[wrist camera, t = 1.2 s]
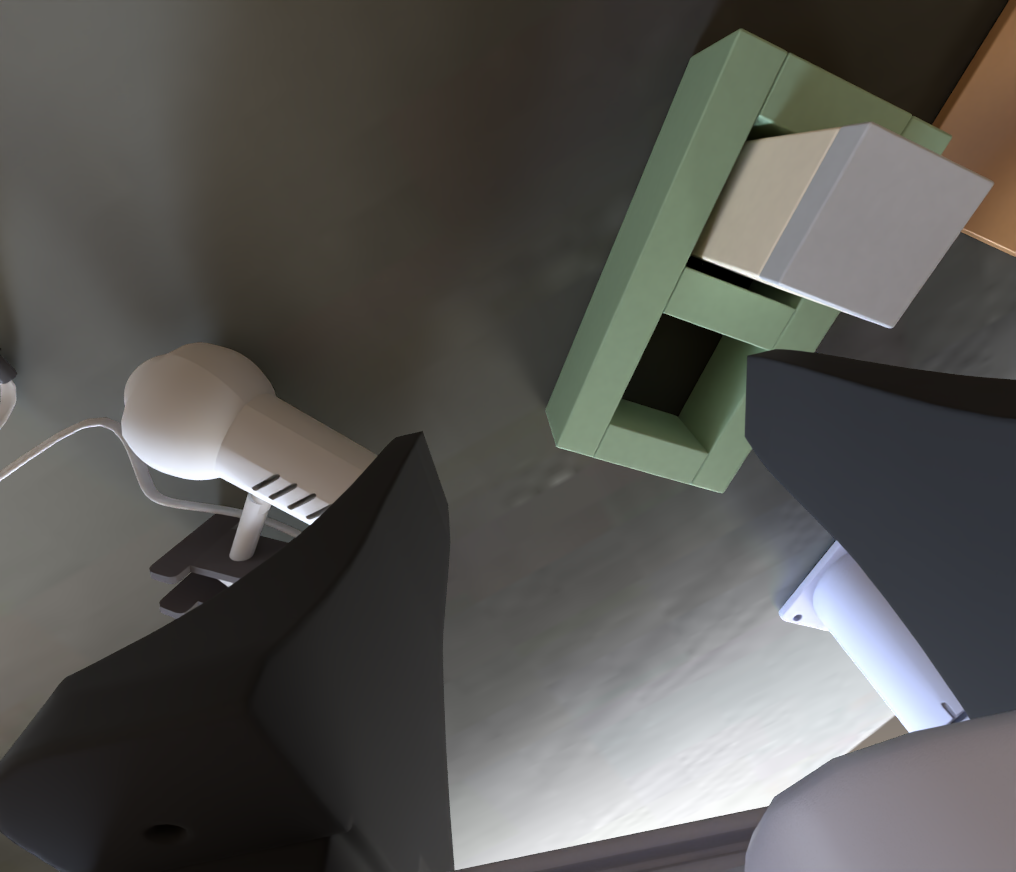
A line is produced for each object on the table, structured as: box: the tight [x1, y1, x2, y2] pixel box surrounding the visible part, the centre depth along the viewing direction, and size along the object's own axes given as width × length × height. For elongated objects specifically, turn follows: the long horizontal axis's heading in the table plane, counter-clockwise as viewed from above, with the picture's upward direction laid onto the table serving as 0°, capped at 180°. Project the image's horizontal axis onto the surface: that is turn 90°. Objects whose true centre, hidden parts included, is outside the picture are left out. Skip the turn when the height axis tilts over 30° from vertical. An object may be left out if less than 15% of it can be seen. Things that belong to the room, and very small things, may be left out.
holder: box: [546, 29, 952, 493], centre depth 18 cm, size 8×14×4 cm, turn 161°
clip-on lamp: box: [0, 342, 378, 619], centre depth 19 cm, size 12×6×18 cm
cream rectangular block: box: [690, 122, 994, 328], centre depth 15 cm, size 4×4×8 cm
